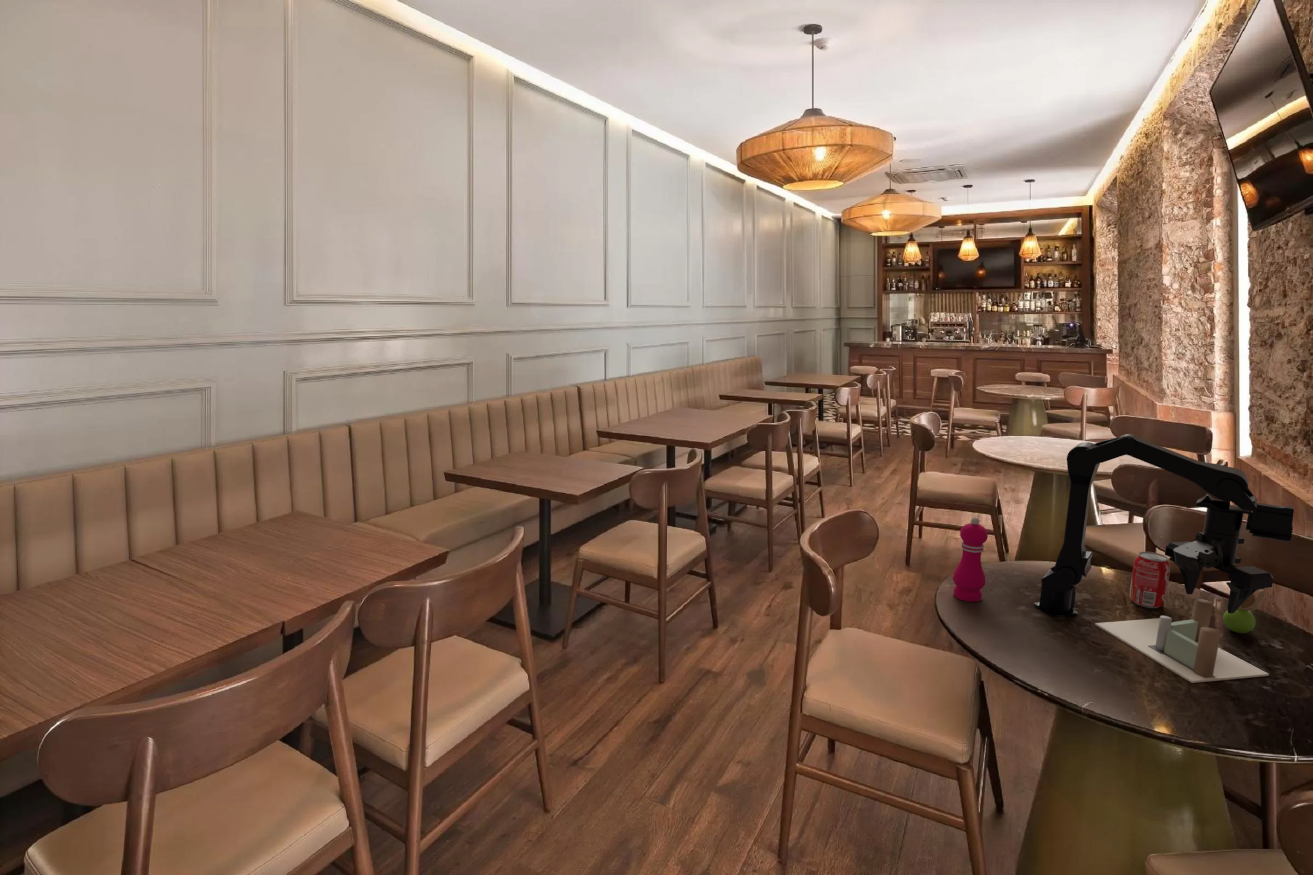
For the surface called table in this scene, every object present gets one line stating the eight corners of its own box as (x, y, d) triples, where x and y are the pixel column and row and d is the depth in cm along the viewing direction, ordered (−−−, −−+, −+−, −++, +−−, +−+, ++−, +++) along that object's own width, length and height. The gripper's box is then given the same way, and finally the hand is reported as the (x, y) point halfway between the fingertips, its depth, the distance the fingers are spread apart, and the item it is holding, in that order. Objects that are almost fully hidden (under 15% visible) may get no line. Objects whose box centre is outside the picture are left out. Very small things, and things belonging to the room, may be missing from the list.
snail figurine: (1251, 641, 148) (1261, 588, 146) (1216, 629, 154) (1225, 577, 151) (1263, 636, 151) (1273, 584, 148) (1228, 623, 156) (1237, 573, 154)
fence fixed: (1216, 676, 134) (1224, 633, 132) (1203, 678, 133) (1211, 634, 131) (1163, 646, 145) (1169, 606, 143) (1150, 647, 145) (1156, 606, 143)
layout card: (1191, 682, 132) (1192, 680, 132) (1094, 624, 156) (1095, 622, 155) (1268, 675, 135) (1268, 673, 135) (1161, 619, 158) (1162, 617, 158)
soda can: (1153, 597, 170) (1160, 551, 167) (1171, 610, 163) (1178, 562, 160) (1122, 596, 170) (1129, 549, 168) (1138, 609, 163) (1146, 560, 161)
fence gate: (1173, 650, 143) (1179, 609, 141) (1159, 643, 146) (1165, 603, 144) (1209, 644, 145) (1216, 604, 144) (1195, 637, 148) (1202, 598, 146)
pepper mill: (945, 590, 173) (953, 513, 169) (973, 589, 174) (981, 512, 170) (960, 603, 166) (969, 522, 162) (989, 602, 167) (998, 522, 163)
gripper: (1147, 518, 148) (1137, 587, 151) (1231, 549, 130) (1217, 626, 133) (1193, 515, 150) (1182, 584, 153) (1282, 546, 132) (1267, 622, 135)
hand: (1209, 603), depth 144 cm, fingers open, 9 cm apart
